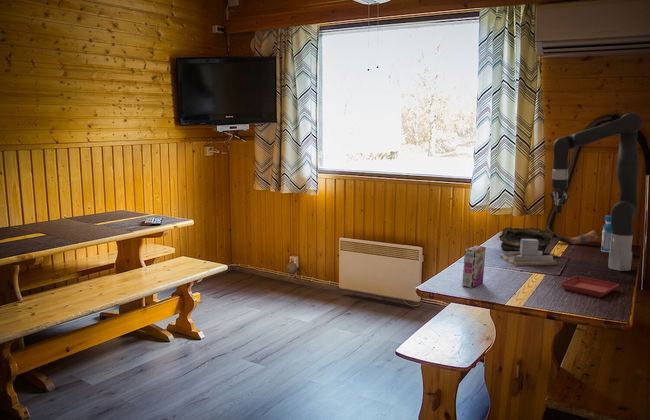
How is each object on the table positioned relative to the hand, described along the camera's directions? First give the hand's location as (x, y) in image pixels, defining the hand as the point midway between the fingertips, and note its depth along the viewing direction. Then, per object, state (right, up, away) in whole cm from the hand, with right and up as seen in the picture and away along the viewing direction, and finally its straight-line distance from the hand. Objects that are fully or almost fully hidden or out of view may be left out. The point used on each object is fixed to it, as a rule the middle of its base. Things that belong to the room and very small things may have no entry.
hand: (558, 212), depth 279 cm
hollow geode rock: (-7, -22, +26) cm, 35 cm away
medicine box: (-13, -22, +5) cm, 27 cm away
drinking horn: (+28, -19, +49) cm, 59 cm away
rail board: (-14, -25, +5) cm, 29 cm away
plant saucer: (-5, -33, -42) cm, 54 cm away
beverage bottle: (+41, -22, +31) cm, 56 cm away
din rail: (-14, -23, +5) cm, 27 cm away
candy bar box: (-53, -31, -38) cm, 72 cm away
